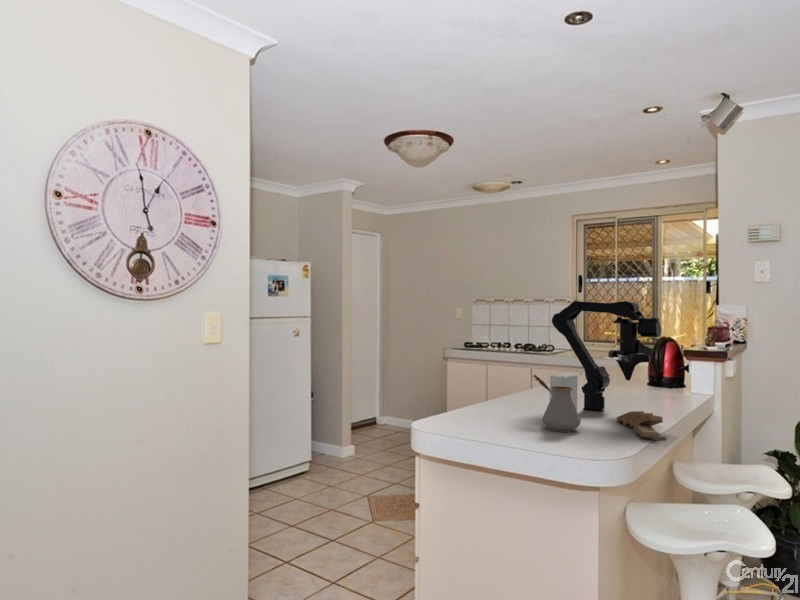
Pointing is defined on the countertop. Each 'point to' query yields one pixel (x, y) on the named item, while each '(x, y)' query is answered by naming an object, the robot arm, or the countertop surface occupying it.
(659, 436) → the domino
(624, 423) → the domino
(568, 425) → the coffee pot
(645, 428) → the domino
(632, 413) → the domino
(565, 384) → the skincare box
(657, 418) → the domino
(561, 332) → the robot arm
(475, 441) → the countertop surface
